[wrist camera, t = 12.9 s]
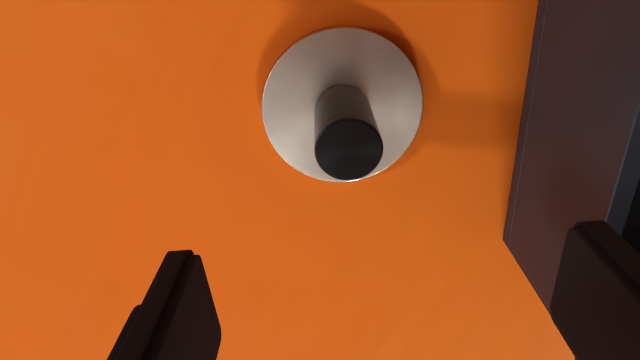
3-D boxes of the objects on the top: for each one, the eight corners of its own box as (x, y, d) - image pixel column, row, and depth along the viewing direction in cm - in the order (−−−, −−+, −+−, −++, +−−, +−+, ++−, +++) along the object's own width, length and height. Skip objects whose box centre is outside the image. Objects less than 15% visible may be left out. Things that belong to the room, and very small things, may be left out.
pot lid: (250, 34, 20) (232, 61, 16) (423, 17, 20) (454, 40, 15) (274, 182, 24) (265, 238, 19) (418, 170, 24) (443, 224, 19)
